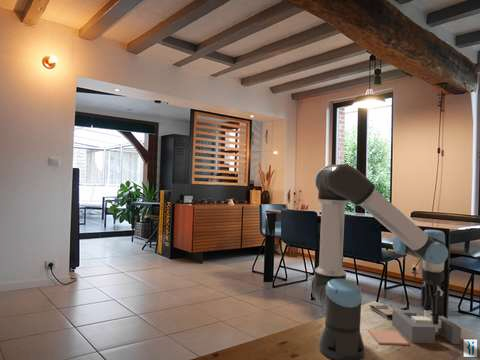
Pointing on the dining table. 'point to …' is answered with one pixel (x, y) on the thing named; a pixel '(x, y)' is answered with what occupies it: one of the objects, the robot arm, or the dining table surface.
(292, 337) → the dining table surface
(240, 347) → the dining table surface
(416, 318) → the cream bar
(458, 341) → the pocket plate
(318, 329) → the dining table surface
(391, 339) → the terracotta mat
